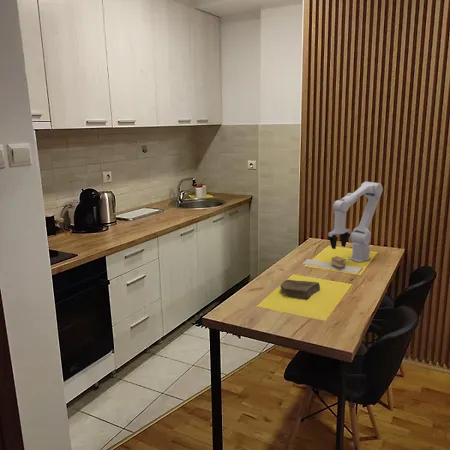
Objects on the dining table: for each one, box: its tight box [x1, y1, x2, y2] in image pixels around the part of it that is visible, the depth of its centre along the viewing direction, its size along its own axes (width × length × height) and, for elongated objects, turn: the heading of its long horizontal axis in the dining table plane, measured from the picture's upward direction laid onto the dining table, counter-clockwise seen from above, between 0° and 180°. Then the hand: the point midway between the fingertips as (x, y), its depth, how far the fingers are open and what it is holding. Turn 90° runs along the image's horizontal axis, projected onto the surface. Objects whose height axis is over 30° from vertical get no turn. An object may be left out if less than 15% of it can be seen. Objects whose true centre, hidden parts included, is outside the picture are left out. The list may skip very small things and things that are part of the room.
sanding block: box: [331, 255, 347, 269], centre depth 223 cm, size 4×6×4 cm, turn 31°
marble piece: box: [280, 279, 321, 300], centre depth 192 cm, size 17×15×4 cm
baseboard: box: [301, 257, 363, 275], centre depth 227 cm, size 30×3×10 cm
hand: (338, 247), depth 228 cm, fingers open, 7 cm apart
